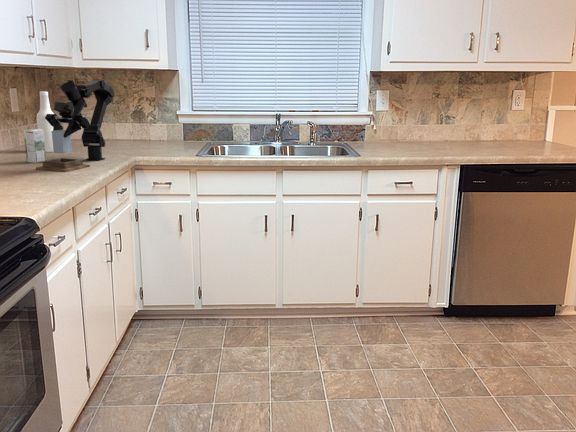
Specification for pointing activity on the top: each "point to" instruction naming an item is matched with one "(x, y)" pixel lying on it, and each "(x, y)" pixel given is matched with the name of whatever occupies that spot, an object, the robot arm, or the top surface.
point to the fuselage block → (61, 142)
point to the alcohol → (45, 121)
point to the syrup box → (34, 145)
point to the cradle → (62, 165)
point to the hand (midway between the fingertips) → (59, 136)
